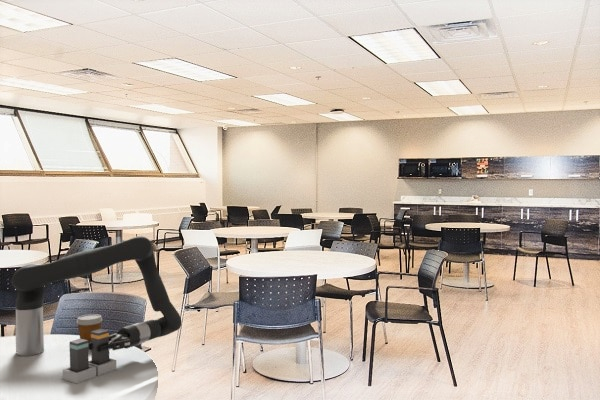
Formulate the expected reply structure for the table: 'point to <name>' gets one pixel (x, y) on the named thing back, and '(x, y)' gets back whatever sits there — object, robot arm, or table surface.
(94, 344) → the plug
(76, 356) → the twin plug
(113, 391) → the table surface
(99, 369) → the grey double socket holder
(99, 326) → the disposable coffee cup
